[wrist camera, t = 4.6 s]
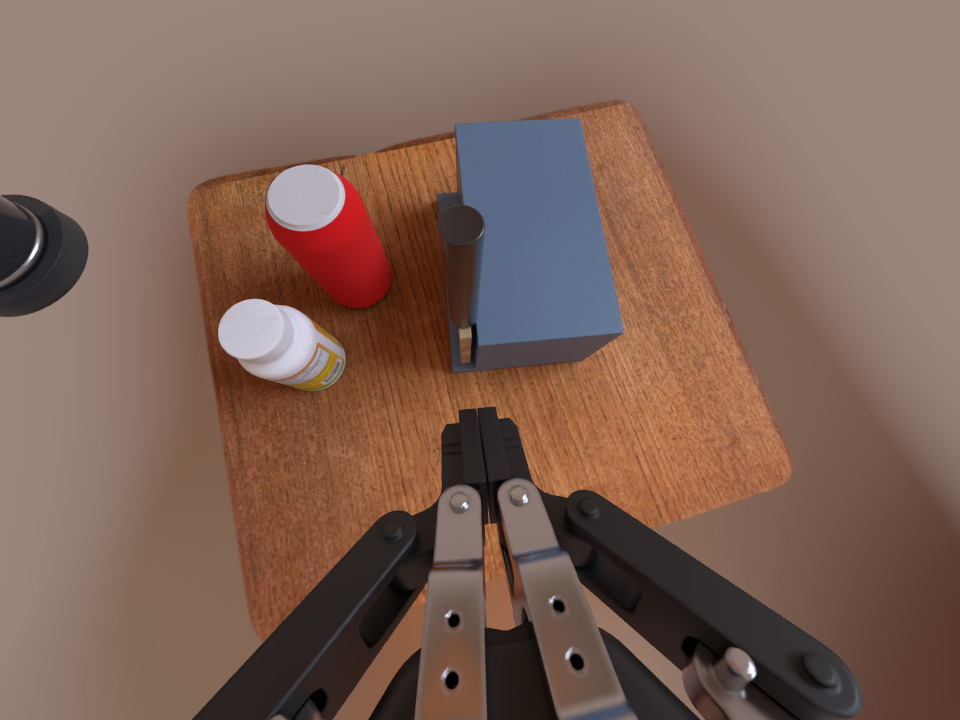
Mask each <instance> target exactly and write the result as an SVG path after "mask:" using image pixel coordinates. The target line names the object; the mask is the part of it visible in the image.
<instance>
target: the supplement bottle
mask: <svg viewBox="0 0 960 720" xmlns="http://www.w3.org/2000/svg"><path fill="white" fill-rule="evenodd" d="M218 338H219V342H220V344H221V346H222V348H223V349H224V350H225V351H226V352H227V353H228V354H229V355H231V356H233V357H235V358H237V359H238V361H239V363H240V364H241V365H242V367H243V368H244V369H245V370H247V371H248V372H249V373H251V374H253V375H255V376H257V377H260V378H263V379H266V380H270V381H273V382H277V383H280V384H284V385H287V386H291V387H294V388H297V389H301V390H305V391H318V390H322V389H325V388H327V387H329V386H331V385H332V384H333V383H335V382H336V381H337V380H338V379H339V377H340V376H341V374H342V372H343V370H344V367H345V363H346V356H345V352H344V349H343V347H342V345H341V344H340V342H339V341H338V340H337V339H336V338H335V337H333V336H332V335H331V334H329V333H328V332H327V331H325V330H324V329H323V328H321V327H320V326H319V325H318V324H316V323H315V322H314V321H313V320H311V319H310V318H309V317H307V316H306V315H305V314H303V313H302V312H300V311H298V310H297V309H295V308H292V307H289V306H284V305H274V304H272V303H270V302H268V301H265V300H261V299H248V300H244V301H241V302H239V303H237V304H235V305H234V306H232V307H231V308H230V309H229V310H228V311H227V312H226V313H225V314H224V316H223V317H222V319H221V321H220V324H219V328H218Z"/></svg>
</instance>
